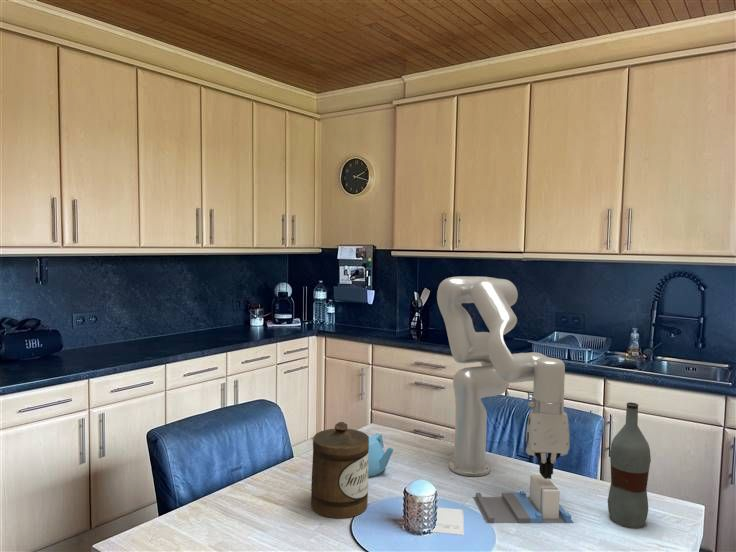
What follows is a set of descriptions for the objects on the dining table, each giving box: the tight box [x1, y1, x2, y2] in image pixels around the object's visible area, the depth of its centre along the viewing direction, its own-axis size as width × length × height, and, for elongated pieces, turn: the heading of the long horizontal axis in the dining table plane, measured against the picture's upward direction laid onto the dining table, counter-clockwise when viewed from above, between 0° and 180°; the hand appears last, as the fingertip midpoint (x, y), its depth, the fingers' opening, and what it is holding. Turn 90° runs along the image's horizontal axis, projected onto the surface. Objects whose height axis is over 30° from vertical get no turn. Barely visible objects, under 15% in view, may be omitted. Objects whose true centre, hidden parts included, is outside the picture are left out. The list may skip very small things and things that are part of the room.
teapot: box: [366, 432, 394, 478], centre depth 165 cm, size 15×15×11 cm
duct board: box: [472, 490, 575, 524], centre depth 140 cm, size 14×22×3 cm, turn 92°
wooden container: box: [310, 421, 370, 519], centre depth 142 cm, size 15×15×22 cm
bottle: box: [607, 401, 652, 529], centre depth 137 cm, size 9×9×30 cm
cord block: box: [529, 474, 561, 519], centre depth 141 cm, size 10×4×7 cm, turn 2°
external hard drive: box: [429, 507, 465, 536], centre depth 134 cm, size 2×8×12 cm
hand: (546, 476), depth 140 cm, fingers closed
